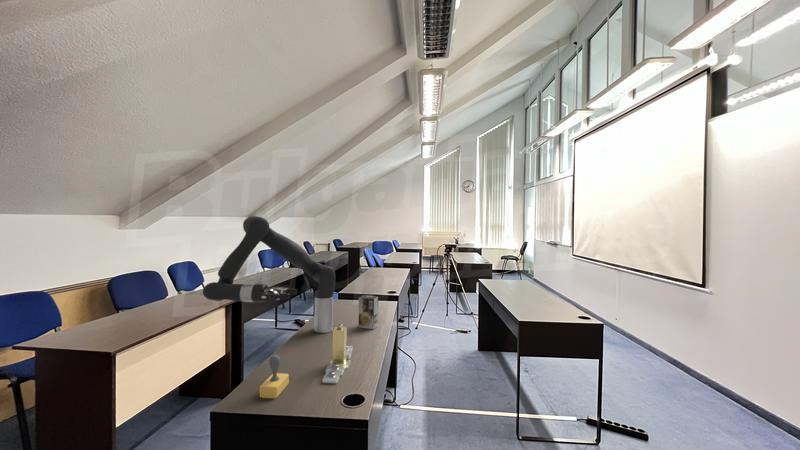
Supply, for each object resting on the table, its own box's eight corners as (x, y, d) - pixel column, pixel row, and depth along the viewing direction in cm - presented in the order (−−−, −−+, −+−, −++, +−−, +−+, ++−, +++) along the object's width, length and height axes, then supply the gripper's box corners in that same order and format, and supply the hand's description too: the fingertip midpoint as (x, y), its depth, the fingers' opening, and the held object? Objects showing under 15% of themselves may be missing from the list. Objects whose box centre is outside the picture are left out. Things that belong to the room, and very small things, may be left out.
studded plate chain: (338, 348, 153) (338, 342, 153) (356, 349, 153) (356, 343, 153) (318, 382, 122) (318, 374, 122) (340, 383, 121) (341, 375, 121)
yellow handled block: (272, 383, 121) (273, 349, 121) (289, 384, 121) (289, 349, 120) (259, 397, 111) (259, 360, 111) (276, 398, 111) (277, 361, 111)
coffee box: (378, 326, 187) (379, 296, 186) (373, 329, 180) (374, 298, 180) (363, 323, 190) (363, 294, 189) (357, 327, 183) (358, 297, 183)
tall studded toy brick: (335, 360, 140) (335, 323, 139) (346, 361, 139) (346, 323, 139) (332, 365, 135) (332, 326, 135) (343, 366, 135) (344, 327, 135)
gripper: (246, 287, 137) (286, 288, 136) (262, 280, 151) (298, 281, 151) (246, 306, 137) (286, 307, 137) (261, 297, 151) (298, 299, 151)
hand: (292, 294), depth 144 cm, fingers open, 8 cm apart
